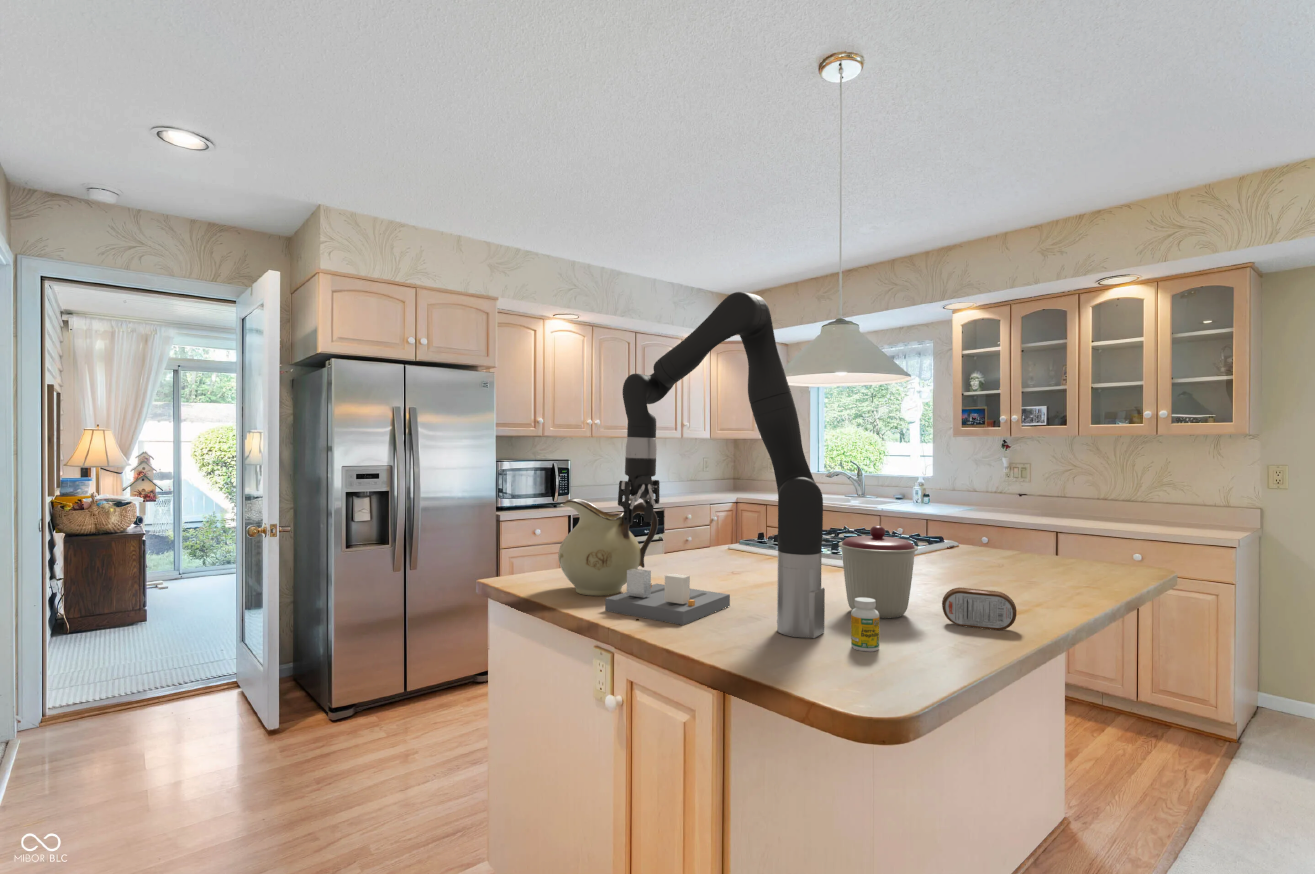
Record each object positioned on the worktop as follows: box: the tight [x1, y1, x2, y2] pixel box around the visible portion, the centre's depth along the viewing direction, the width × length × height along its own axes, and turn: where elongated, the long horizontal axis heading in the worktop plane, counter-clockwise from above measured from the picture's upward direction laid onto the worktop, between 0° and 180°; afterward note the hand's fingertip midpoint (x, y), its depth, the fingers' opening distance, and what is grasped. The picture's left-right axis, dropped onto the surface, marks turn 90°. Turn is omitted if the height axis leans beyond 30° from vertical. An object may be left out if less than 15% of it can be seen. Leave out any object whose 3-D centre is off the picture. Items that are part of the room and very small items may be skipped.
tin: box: [941, 586, 1017, 631], centre depth 147 cm, size 15×3×8 cm, turn 65°
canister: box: [838, 525, 919, 619], centre depth 159 cm, size 18×18×21 cm
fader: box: [664, 573, 691, 604], centre depth 154 cm, size 5×3×6 cm, turn 56°
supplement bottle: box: [850, 598, 880, 653], centre depth 131 cm, size 5×5×10 cm
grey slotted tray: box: [604, 582, 731, 626], centre depth 161 cm, size 22×22×4 cm
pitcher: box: [558, 497, 659, 597], centre depth 181 cm, size 22×24×25 cm
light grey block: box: [626, 568, 652, 598], centre depth 160 cm, size 5×3×6 cm, turn 56°
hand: (638, 523), depth 160 cm, fingers open, 8 cm apart
